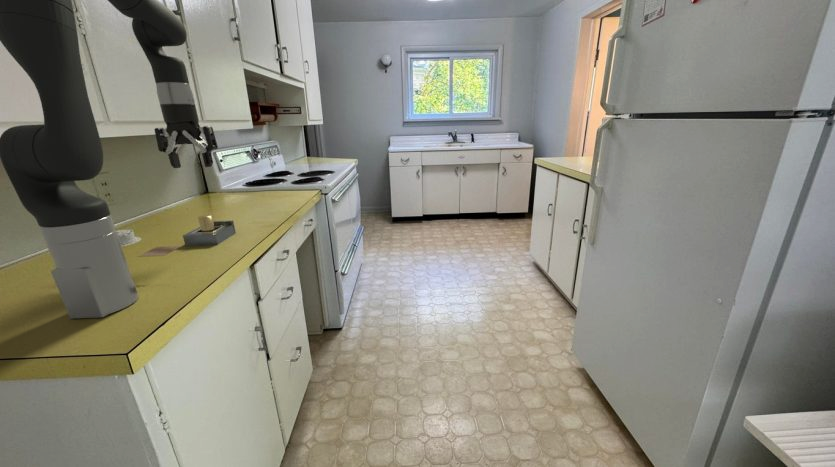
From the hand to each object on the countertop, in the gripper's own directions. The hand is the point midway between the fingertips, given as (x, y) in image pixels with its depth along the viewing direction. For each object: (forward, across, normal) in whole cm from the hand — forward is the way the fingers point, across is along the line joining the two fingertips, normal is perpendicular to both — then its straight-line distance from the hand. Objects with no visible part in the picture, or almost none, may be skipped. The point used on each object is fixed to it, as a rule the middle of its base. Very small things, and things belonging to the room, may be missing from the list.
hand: (193, 167), depth 92 cm
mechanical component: (+22, -27, 0) cm, 35 cm away
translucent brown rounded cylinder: (+22, 0, 0) cm, 22 cm away
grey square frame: (+22, 0, 0) cm, 22 cm away
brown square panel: (+22, -9, -8) cm, 25 cm away
